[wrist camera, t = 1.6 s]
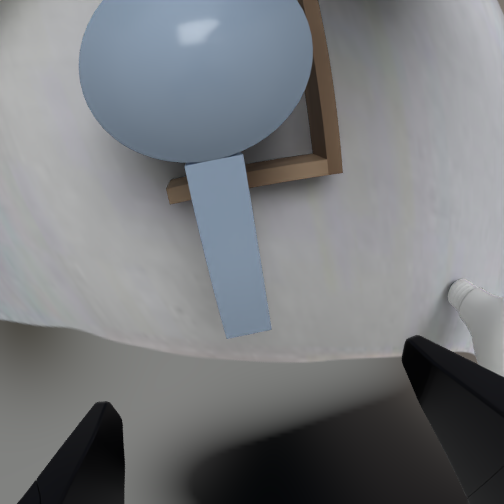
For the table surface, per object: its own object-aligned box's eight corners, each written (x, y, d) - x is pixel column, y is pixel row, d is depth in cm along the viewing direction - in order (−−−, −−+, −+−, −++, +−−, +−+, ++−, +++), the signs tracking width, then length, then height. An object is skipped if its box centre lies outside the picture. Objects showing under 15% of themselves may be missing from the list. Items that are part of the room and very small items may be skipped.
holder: (294, -34, 12) (305, -49, 10) (327, 165, 17) (342, 172, 15) (137, -14, 11) (129, -29, 9) (174, 193, 17) (169, 204, 15)
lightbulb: (436, 259, 22) (531, 342, 12) (482, 251, 22) (568, 317, 12) (419, 321, 24) (491, 409, 14) (465, 308, 25) (534, 379, 15)
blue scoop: (115, 26, 12) (71, -12, 6) (260, -2, 13) (291, -53, 7) (171, 278, 19) (161, 350, 13) (298, 252, 20) (336, 313, 14)
